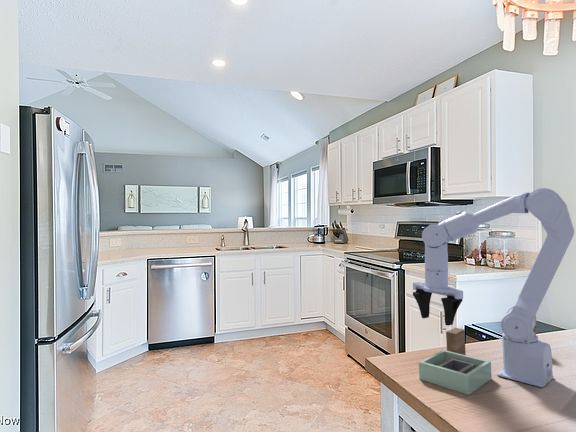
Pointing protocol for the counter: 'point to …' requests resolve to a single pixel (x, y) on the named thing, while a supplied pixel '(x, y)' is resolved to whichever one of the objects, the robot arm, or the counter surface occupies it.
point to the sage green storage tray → (455, 371)
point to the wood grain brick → (456, 341)
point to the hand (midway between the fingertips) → (436, 321)
